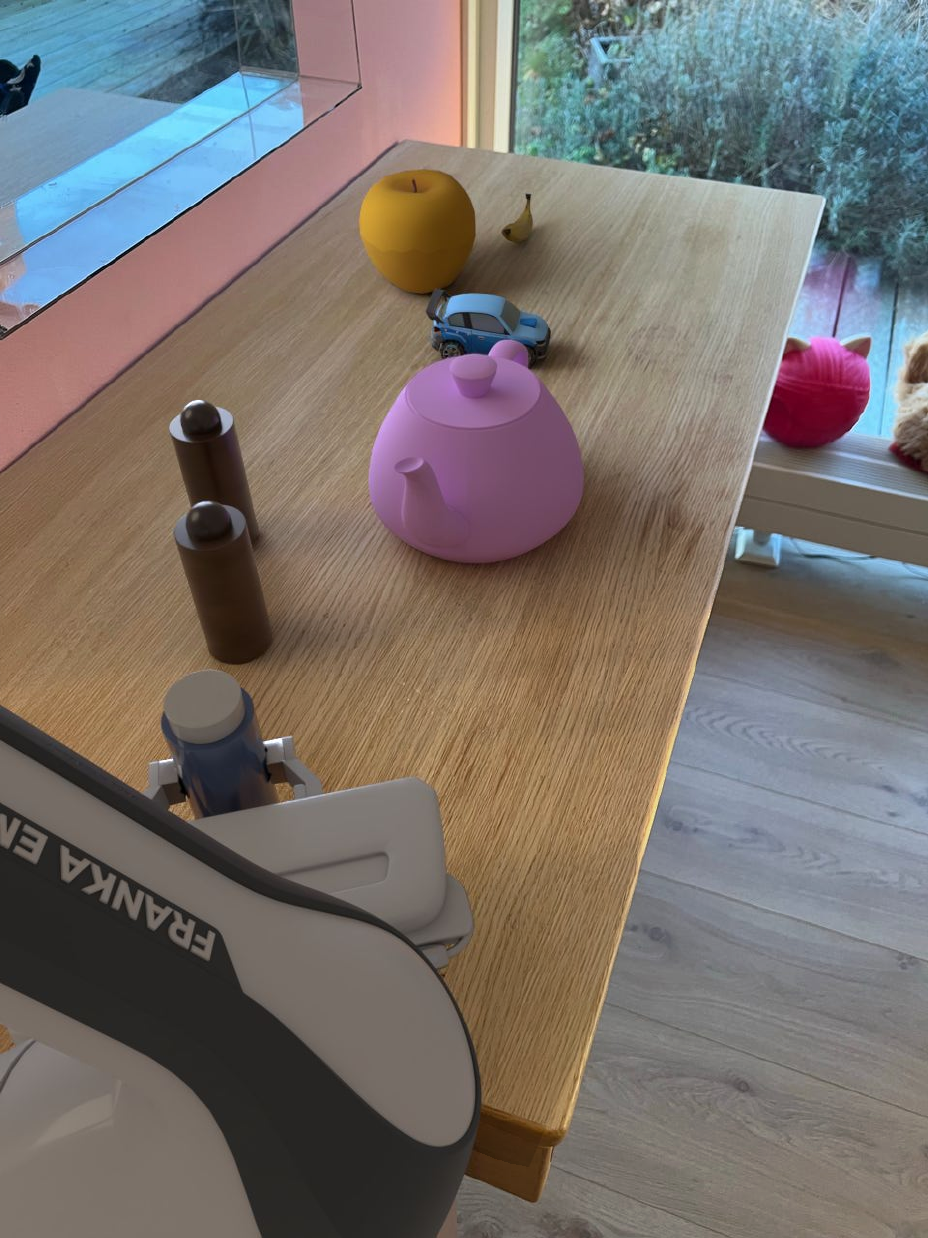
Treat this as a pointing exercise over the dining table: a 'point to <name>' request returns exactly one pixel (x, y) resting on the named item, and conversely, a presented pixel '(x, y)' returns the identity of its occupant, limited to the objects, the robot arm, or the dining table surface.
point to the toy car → (484, 325)
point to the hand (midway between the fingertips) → (223, 755)
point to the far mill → (212, 459)
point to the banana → (520, 225)
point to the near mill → (224, 581)
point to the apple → (418, 229)
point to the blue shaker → (216, 744)
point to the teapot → (476, 460)
